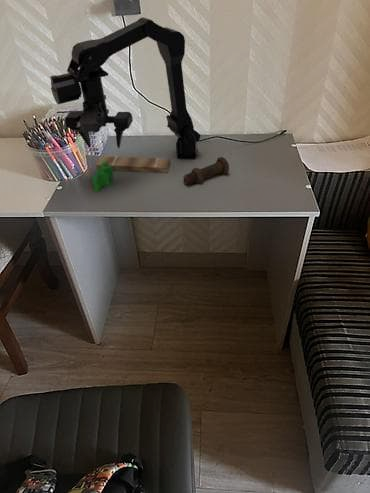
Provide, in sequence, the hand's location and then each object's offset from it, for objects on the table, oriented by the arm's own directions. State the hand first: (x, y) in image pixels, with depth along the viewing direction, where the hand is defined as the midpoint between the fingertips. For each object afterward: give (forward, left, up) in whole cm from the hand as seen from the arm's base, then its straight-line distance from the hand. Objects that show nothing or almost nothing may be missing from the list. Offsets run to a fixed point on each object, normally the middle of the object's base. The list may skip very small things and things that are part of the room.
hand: (104, 147), depth 114 cm
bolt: (-30, -4, -12) cm, 33 cm away
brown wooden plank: (-6, -9, -12) cm, 15 cm away
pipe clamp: (+1, +1, -12) cm, 12 cm away
